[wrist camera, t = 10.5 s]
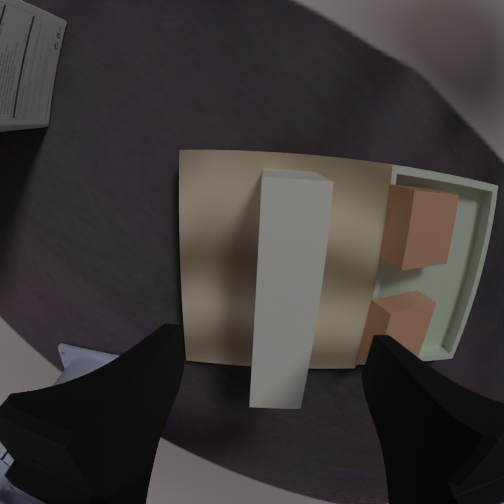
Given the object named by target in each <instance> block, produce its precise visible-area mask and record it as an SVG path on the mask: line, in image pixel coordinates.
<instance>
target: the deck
mask: <svg viewBox="0 0 504 504" xmlns="http://www.w3.org/2000/svg"><path fill="white" fill-rule="evenodd" d="M392 166H393V165H391V164H385V163H378V162H371V161H363V160H355V159H347V158H338V157H328V156H318V155H306V154H294V153H279V152H262V151H237V150H180V154H179V236H180V268H181V290H182V308H183V324H184V337H185V350H186V360H188V361H197V362H206V363H217V364H228V365H241V366H252V354H253V336H254V319H255V300H256V282H257V263H258V244H259V225H260V205H261V185H262V174H263V169H276V170H291V171H304V172H315V173H317V174H319V175H321V176H323V177H325V178H327V179H329V180H331V181H333V193H332V204H331V214H330V224H329V233H328V242H327V250H326V259H325V266H324V274H323V281H322V289H321V295H320V302H319V309H318V315H317V322H316V328H315V334H314V340H313V345H312V351H311V357H310V362H309V368H313V369H340V368H355V366H356V363H357V359H358V353H359V349H360V345H361V342H362V338H363V334H364V330H365V326H366V322H367V317H368V313H369V309H370V304H371V300H372V298H373V294H374V289H375V284H376V279H377V274H378V268H379V263H380V253H381V247H382V241H383V235H384V228H385V221H386V214H387V206H388V198H389V189H390V184H391V177H392Z"/></svg>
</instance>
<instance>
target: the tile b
mask: <svg viewBox="0 0 504 504" xmlns="http://www.w3.org/2000/svg"><path fill="white" fill-rule="evenodd" d="M458 197H459V195H456V194H452V193H449V192H445V191H441V190H437V189H430V188H422V187H413V186H403V185H393V184H390V189H389V198H388V206H387V214H386V221H385V228H384V235H383V241H382V247H381V253H380V259H381V260H383V261H385V262H387V263H389V264H390V265H392V266H394V267H396V268H398V269H400V270H408V269H415V268H422V267H428V266H434V265H441V264H446V263H447V258H448V254H449V249H450V244H451V239H452V234H453V228H454V223H455V217H456V211H457V204H458Z"/></svg>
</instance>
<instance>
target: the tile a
mask: <svg viewBox="0 0 504 504" xmlns="http://www.w3.org/2000/svg"><path fill="white" fill-rule="evenodd" d="M435 305H436V302H435V301H434V300H432V299H430V298H429V297H427V296H425V295H424V294H422V293H421V292H419V291H412V292H408V293H403V294H398V295H393V296H388V297H383V298H378V299H373V300H371V304H370V309H369V313H368V317H367V322H366V326H365V330H364V334H363V338H362V342H361V345H360V349H359V353H358V358H359V359H360V360H361V361H362V362H363V363H364V364H365V363H366V359H367V356H368V353H369V349H370V346H371V342H372V339H373V335H389V336H391V337H392V338H394V339H395V340H396V341H398V342H399V343H400V344H402V345H403V346H404V347H405V348H407V349H408V350H409V351H411V352H412V353H413V354H414V355H416V356H419V353H420V350H421V348H422V345H423V342H424V339H425V336H426V333H427V330H428V327H429V324H430V321H431V318H432V315H433V311H434V308H435Z"/></svg>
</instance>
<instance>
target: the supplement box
mask: <svg viewBox="0 0 504 504" xmlns="http://www.w3.org/2000/svg"><path fill="white" fill-rule="evenodd" d="M66 24H67V22H66V21H65V20H63V19H61V18H59V17H56V16H54V15H52V14H50V13H48V12H46V11H44V10H42V9H40V8H38V7H35V6H33V5H31V4H29V3H26V2H24V1H22V0H0V132H5V131H13V130H23V129H33V128H43V127H47V126H48V125H49V118H50V109H51V101H52V93H53V87H54V81H55V75H56V69H57V64H58V59H59V54H60V49H61V45H62V40H63V36H64V32H65V28H66Z"/></svg>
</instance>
